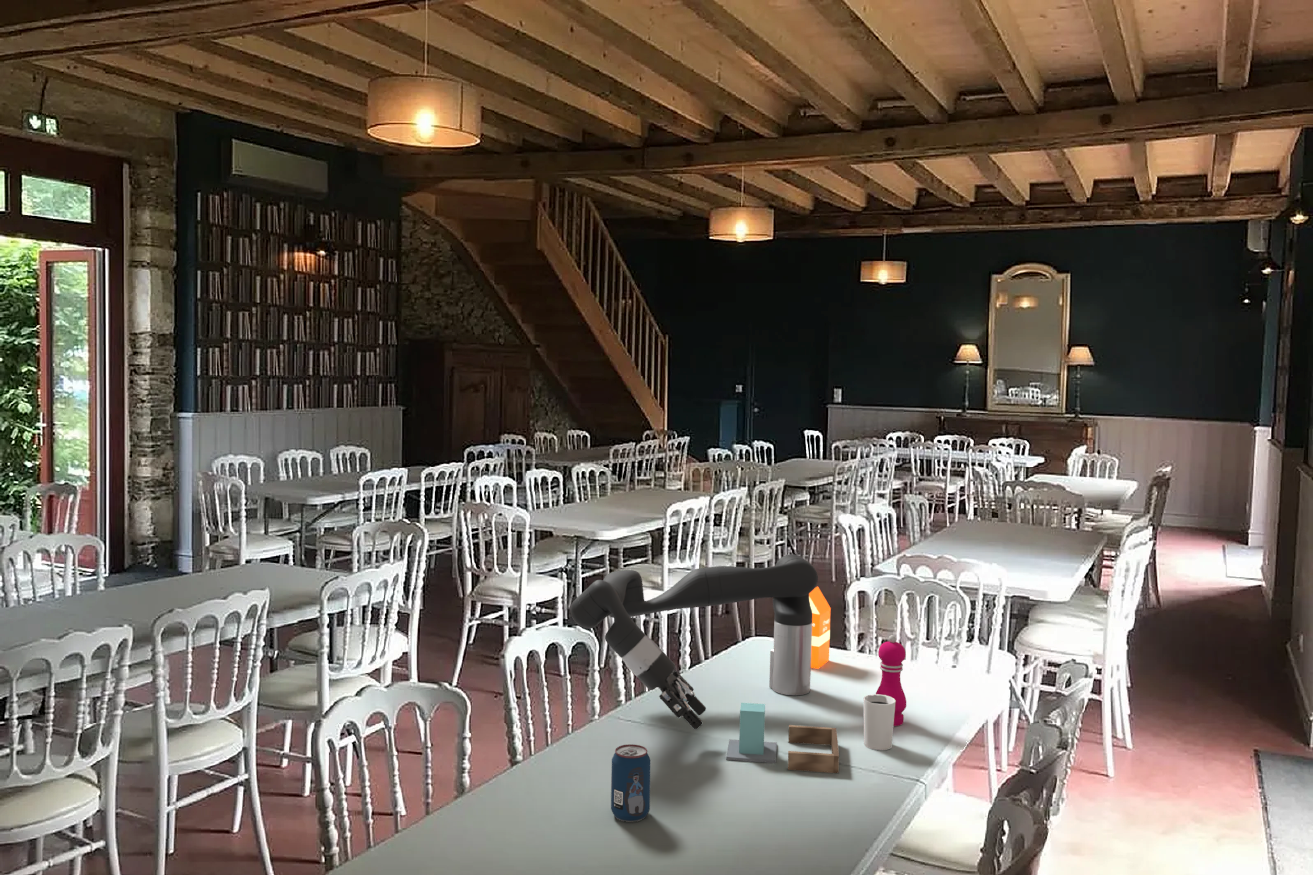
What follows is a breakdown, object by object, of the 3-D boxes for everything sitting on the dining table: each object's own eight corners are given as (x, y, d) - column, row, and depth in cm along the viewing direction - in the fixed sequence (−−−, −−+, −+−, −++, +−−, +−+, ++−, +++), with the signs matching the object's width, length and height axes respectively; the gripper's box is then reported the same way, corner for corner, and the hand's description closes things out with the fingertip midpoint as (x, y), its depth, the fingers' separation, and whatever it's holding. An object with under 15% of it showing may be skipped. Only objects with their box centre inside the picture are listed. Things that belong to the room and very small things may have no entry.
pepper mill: (897, 729, 238) (900, 641, 236) (867, 722, 242) (870, 635, 240) (910, 721, 243) (914, 634, 242) (881, 714, 248) (884, 629, 246)
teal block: (738, 753, 220) (740, 710, 220) (740, 744, 225) (741, 702, 225) (763, 754, 220) (764, 712, 219) (763, 745, 225) (765, 704, 224)
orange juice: (790, 664, 286) (793, 590, 284) (802, 656, 293) (804, 584, 292) (818, 669, 282) (821, 594, 280) (829, 660, 290) (832, 587, 288)
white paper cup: (894, 752, 224) (895, 705, 223) (861, 749, 226) (863, 703, 225) (893, 741, 231) (895, 695, 230) (862, 738, 232) (863, 693, 231)
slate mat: (726, 759, 218) (726, 756, 218) (729, 742, 228) (729, 739, 228) (775, 763, 217) (775, 760, 217) (776, 745, 227) (776, 742, 227)
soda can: (628, 803, 196) (629, 740, 195) (657, 814, 192) (658, 749, 191) (602, 816, 191) (603, 750, 190) (632, 827, 187) (633, 760, 186)
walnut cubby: (787, 769, 214) (788, 752, 213) (788, 740, 230) (788, 725, 229) (838, 773, 212) (839, 756, 212) (835, 744, 228) (836, 728, 228)
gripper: (640, 664, 231) (691, 719, 231) (629, 684, 217) (684, 743, 217) (665, 641, 230) (716, 697, 230) (656, 660, 216) (711, 719, 216)
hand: (701, 719), depth 223 cm, fingers open, 8 cm apart
